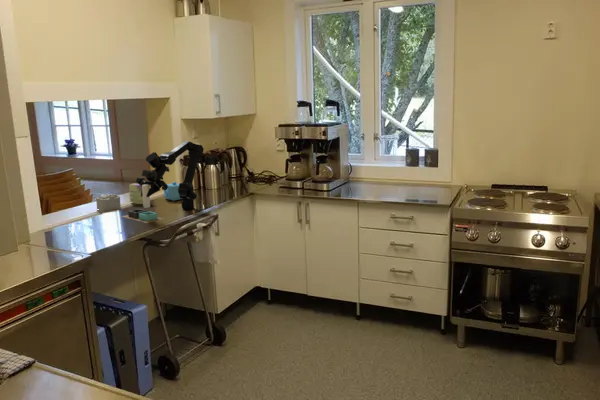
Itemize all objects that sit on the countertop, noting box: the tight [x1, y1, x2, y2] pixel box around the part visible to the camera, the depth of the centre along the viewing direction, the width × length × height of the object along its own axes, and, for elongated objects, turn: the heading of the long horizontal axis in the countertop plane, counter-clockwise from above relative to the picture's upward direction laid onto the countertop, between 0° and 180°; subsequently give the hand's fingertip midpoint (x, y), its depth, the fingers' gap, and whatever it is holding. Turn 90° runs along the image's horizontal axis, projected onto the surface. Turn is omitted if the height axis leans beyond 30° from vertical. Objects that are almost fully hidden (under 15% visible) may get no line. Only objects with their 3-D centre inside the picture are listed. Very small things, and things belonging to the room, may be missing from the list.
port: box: [139, 210, 158, 221], centre depth 276 cm, size 7×7×3 cm
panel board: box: [120, 208, 165, 224], centre depth 279 cm, size 22×12×4 cm, turn 54°
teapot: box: [163, 181, 182, 202], centre depth 330 cm, size 12×18×12 cm
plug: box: [142, 185, 151, 209], centre depth 274 cm, size 4×4×12 cm
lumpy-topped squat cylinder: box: [96, 193, 122, 212], centre depth 301 cm, size 10×13×9 cm
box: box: [128, 182, 143, 205], centre depth 317 cm, size 10×6×12 cm, turn 74°
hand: (144, 196), depth 273 cm, fingers closed on plug, 4 cm apart
